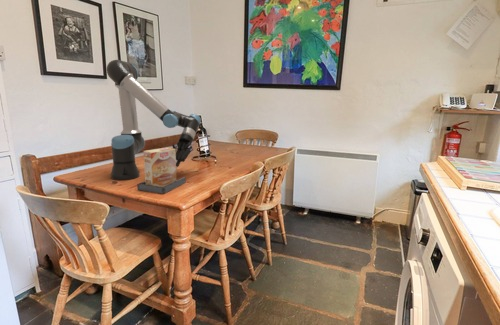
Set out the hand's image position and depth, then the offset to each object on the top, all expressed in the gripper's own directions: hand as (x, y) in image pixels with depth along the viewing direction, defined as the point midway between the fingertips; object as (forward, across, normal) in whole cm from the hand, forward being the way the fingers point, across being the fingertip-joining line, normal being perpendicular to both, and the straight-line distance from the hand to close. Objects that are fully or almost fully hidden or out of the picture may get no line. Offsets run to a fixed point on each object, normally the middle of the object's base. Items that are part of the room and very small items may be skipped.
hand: (172, 171), depth 156 cm
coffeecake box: (+10, +2, +1) cm, 11 cm away
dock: (+11, +1, +2) cm, 11 cm away
